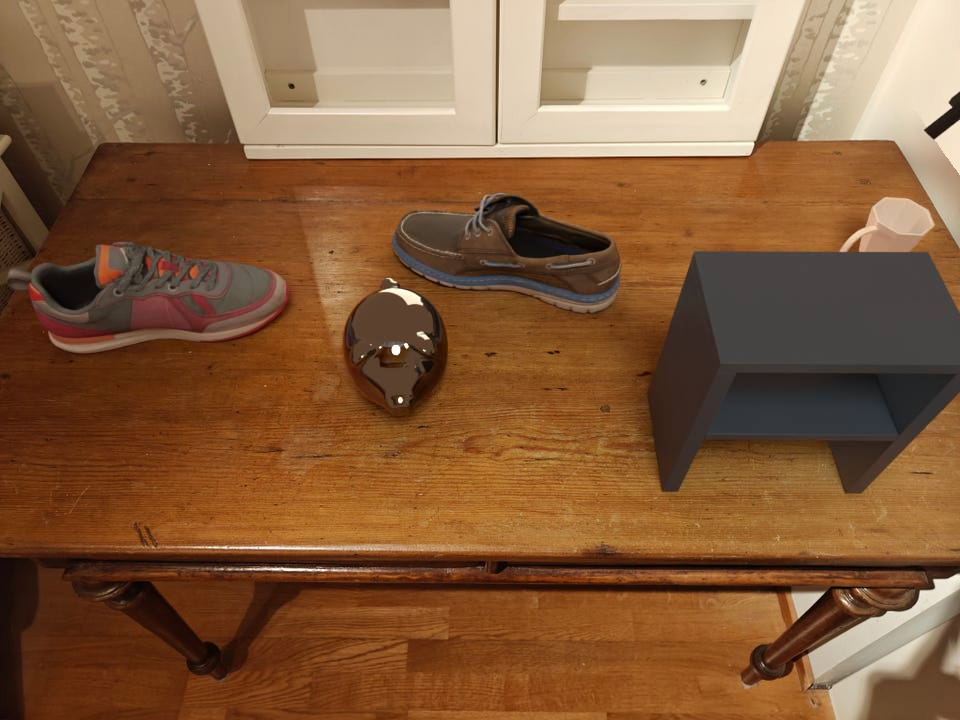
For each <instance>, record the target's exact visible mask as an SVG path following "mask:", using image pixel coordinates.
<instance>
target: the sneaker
mask: <svg viewBox="0 0 960 720" xmlns="http://www.w3.org/2000/svg"><path fill="white" fill-rule="evenodd" d="M94 249H95V250H94V251H95V256H94V257H92V258H90V259H88V260H86V261H83V262H79V263H76V264H71V265H65V266H63V265H58V264H55V263H52V262H43V263H40V264H38V265H36V266H35V267H33V268H32V271H29V270H26V269H23V268H19V267H10V268H9V269H8V273H7V278H6V285H7V286H8V288H10V289H11V290H14V291H17V292H27V291H28V294H29V297H30V300H31V303H32V307H33V310H34V312H35V315H36V317H37V319H38V321H39V323H40V324H41V325H42V326H43V327H44V328H45V330H47V333H48V337H49V339H50V341H51V343H52V344H53V345H54V346H55V347H57V348H58V349H61V350H63V351H66V352H68V353H71V354H79V355H81V354H82V355H86V354H96V353H102V352H107V351H112V350H115V349H121V348H124V347H125V348H126V347H129V346H133V345H136V344H140V343H144V342H149V341H153V340H162V339H163V340H165V339H175V340H183V341H190V342H197V343H215V342H224V341H230V340H233V339H237V338H238V339H239V338H241V337H244V336H247V335H250V334H252V333H254V332H256V331H258V330H260V329H261V328H262V327H264V326H265V325H267V324H269V323H270V322H272V321H273V320H274V319H275V318H276V317H277V316H278V315H279V314H280V313H281V312H282V311H283V309H284V307H286V304H287V303H288V301H289V299H290V285H289V282H288V281H286V280H285V279H284V278H283V277H281V276H280V275H279V274H277V272H275V271H273V270H270V269H268V268H265V267H262V266H259V265H254V264H245V263H237V262H233V261H228V260H212V259H199V258H197V259H191V258H189V257H186V256H184V255H182V254H175V253H172V252H171V251H170V250H167V249H165V250H163V249H160V248H154V247H151V245H149V246H148V245H147V246H143V245H141V244H138V242H137V241H134V240H131V241H129V242H128V241H116V242H115V241H113V242H112V243H111V244H109V245H108V244H102V243H101V244H96V245H95V248H94Z"/></svg>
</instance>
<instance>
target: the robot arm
mask: <svg viewBox="0 0 960 720" xmlns="http://www.w3.org/2000/svg"><path fill="white" fill-rule="evenodd" d="M948 104H949V105H950V107H951V108H949V110H947V111H945V112H944V113H943V114H942V115H941V116H939V117H938V118H937V119H935V120H934V121H933V122H931V123H930V124H929V125H928V126H927V127H925V128H924V129H923V131H924V132H925V133H926V134H927V135H928V136H929V138H931V139H932V140H933V141H935V140H936V139H937V138H939V137H940V136H941V135H942V134H943V133H945V132H946V131H948V130H949V129H950V128H951V127H953V126H954V125H955V124H956V123H959V121H960V90H959V91H958V92H957V93H956V94H954V95H953V96H952V97H951V98H950V99H949V100H948Z"/></svg>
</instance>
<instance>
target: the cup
mask: <svg viewBox="0 0 960 720" xmlns="http://www.w3.org/2000/svg"><path fill="white" fill-rule="evenodd" d="M935 226H936V224H935V222H934V219H933V217H932V214H931V212H930V210H929V209H928V208H926V207H924V206H922V205H920V204H918V203H917V202H915V201H913V200H912V199H909V198H908V197H906V198H905V197H891V196H890V197H889V196H888V197H887V196H884V197H883V198H882V199H880V200H879V201H878V202H876V203H875V204H874V205H873V206H872V207H871V209H870V213H869V215H868V217H867V221H866V224H865V227H862V228H861V229H858V230H857V231H855V232H854V233H853V234H852V235H851V236H849V237H848V239H846V241H845V242H844V243H843V244H842V246H841V247H840V249H839V251H838V252H849V249H851V247H852V246H853V245H854V244H855V243H856V242H857V241H858V240H860V243H859V249H858V252H912V250H913V249H914V248H915V247H916V246H917V245H918V244H919V243H920V242H921V240H923V239H924V237H926V236H927V234H929V232H931V230H932V229H933V228H934V227H935Z"/></svg>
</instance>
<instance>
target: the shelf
mask: <svg viewBox="0 0 960 720" xmlns="http://www.w3.org/2000/svg"><path fill="white" fill-rule="evenodd" d="M691 256H692V257H691V259H690V262H689V265H688V269H687V272H686V275H685V277H684V280H683V283H682V287H681V290H680V292H679V296H678V299H677V301H676V304H675V309H674V311H673V313H672V317H671V320H670V323H669V325H668V326H669V327H668V329H667V332H666V335H665V338H664V342H663V344H662V347H661V350H660V353H659V355H658V356H659V357H658V359H657V362H656V366H655V368H654V372H653V374H652V377H651V380H650V384H649V387H648V389H647V393H646V396H647V402H648V408H649V414H650V421H651V428H652V434H653V441H654V446H655V453H656V459H657V461H656V462H657V464H658V465H657V466H658V472H659V473H658V474H659V479H660V485H661V492H662V493H665V492H666V493H678V492H679V491H680V489H681V487H682V484H683V482H684V481H685V478H686V477H687V475H688V472H689V470H690V469H691V466H692V464H693V463H694V460H695V458H696V457H697V454H698V451H699V450H700V448H701V446H702V444H703V443H704V440H707V441H708V440H714V441H715V440H717V441H719V440H720V441H721V440H724V441H725V440H728V441H729V440H730V441H734V440H735V441H828V443H829V446H830V450H831V453H832V456H833V459H834V462H835V465H836V468H837V471H838V474H839V478H840V480H841V483H842V487H843V490H844V493H845V494H862V493H863V492H865V491H866V489H867V488H868V487H869V486H870V485H871V484H872V483H873V482H874V481H875V480H876V479H877V478H878V477H879V476H880V475H881V474H882V473H883V472H884V471H885V470H886V469H887V468H888V467H889V466H890V465H891V464H892V463H893V462H894V461H895V459H897V458H898V457H899V456H900V454H902V453H903V451H904V450H905V449H906V448H908V447H909V445H910V444H912V442H913V441H914V440H915V439H916V438H917V437H918V436H919V435H921V433H922V432H923V431H924V430H926V428H927V427H928V426H929V425H930V424H931V423H932V422H933V421H934V420H935V419H936V418H937V417H938V415H940V414H941V412H943V410H944V409H945V408H946V407H947V406H948V405H950V403H951V402H952V401H953V400H954V399H955V398H956V397H957V396H958V395H959V394H960V311H959V309H958V307H957V305H956V304H955V301H954V299H953V297H952V295H951V293H950V291H949V290H948V287H947V285H946V284H945V282H944V280H943V278H942V276H941V274H940V272H939V270H938V268H937V266H936V264H935V262H934V260H933V259H932V256H931V255H930V253H929V252H928V251H910V252H859V251H847V252H839V251H757V250H756V251H755V250H754V251H751V250H750V251H746V250H745V251H742V250H740V251H737V250H736V251H734V250H733V251H732V250H731V251H728V250H727V251H725V250H723V251H722V250H721V251H719V250H716V251H715V250H714V251H713V250H694V251H693V253H692V255H691Z"/></svg>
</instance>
